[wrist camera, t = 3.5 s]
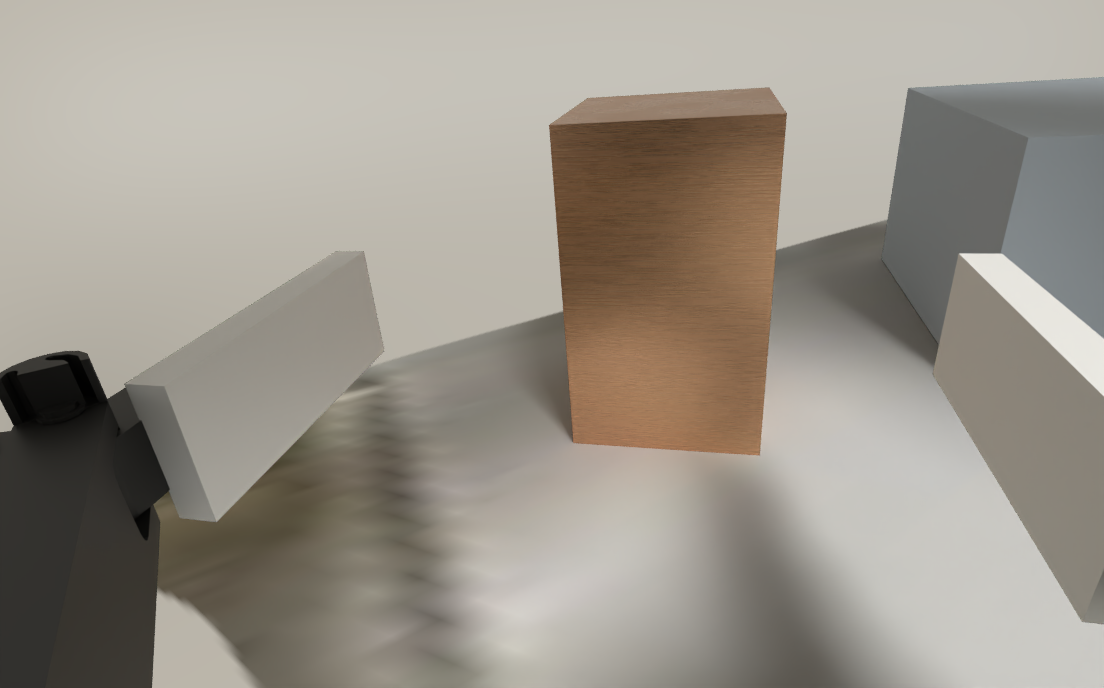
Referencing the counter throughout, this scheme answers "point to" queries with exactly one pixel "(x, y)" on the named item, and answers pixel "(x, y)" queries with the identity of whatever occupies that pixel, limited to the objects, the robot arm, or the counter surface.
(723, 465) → the counter surface
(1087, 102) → the stand
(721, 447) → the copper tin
